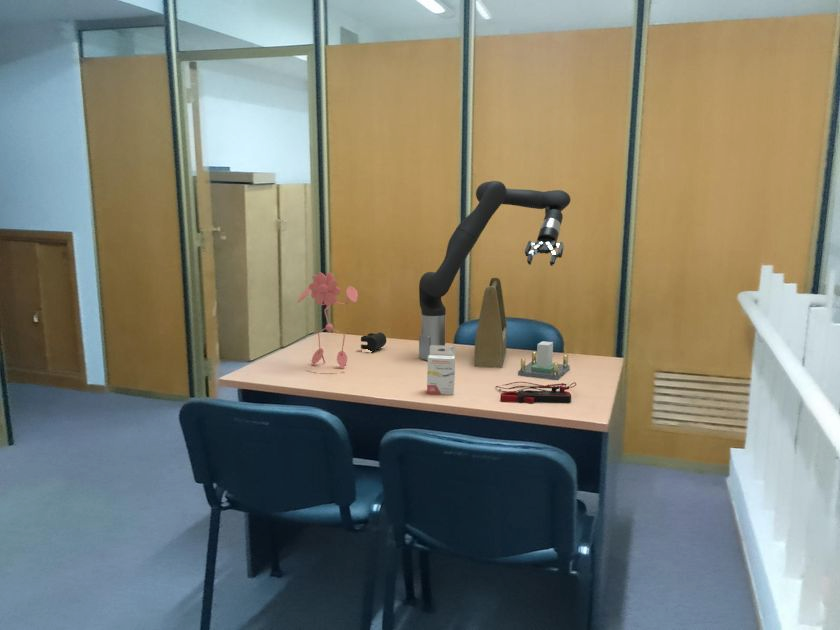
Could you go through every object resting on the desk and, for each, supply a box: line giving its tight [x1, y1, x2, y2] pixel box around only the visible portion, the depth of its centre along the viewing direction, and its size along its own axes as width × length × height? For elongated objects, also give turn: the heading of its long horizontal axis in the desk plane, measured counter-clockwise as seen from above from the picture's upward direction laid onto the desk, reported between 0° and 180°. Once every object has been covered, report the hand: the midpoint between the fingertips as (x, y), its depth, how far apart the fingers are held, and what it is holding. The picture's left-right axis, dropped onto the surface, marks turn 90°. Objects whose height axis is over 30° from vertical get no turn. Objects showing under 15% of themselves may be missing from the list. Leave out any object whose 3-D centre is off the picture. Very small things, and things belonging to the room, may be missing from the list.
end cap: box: [360, 331, 387, 352], centre depth 271 cm, size 10×7×7 cm
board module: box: [531, 341, 554, 372], centre depth 237 cm, size 7×9×9 cm
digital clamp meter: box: [495, 381, 577, 404], centre depth 211 cm, size 23×4×25 cm
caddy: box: [474, 277, 508, 369], centre depth 256 cm, size 29×11×30 cm, turn 170°
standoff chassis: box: [517, 351, 571, 381], centre depth 237 cm, size 14×17×6 cm
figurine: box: [296, 271, 359, 375], centre depth 238 cm, size 15×26×35 cm, turn 66°
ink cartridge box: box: [426, 345, 456, 395], centre depth 210 cm, size 9×5×15 cm, turn 84°
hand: (540, 263), depth 254 cm, fingers open, 8 cm apart
